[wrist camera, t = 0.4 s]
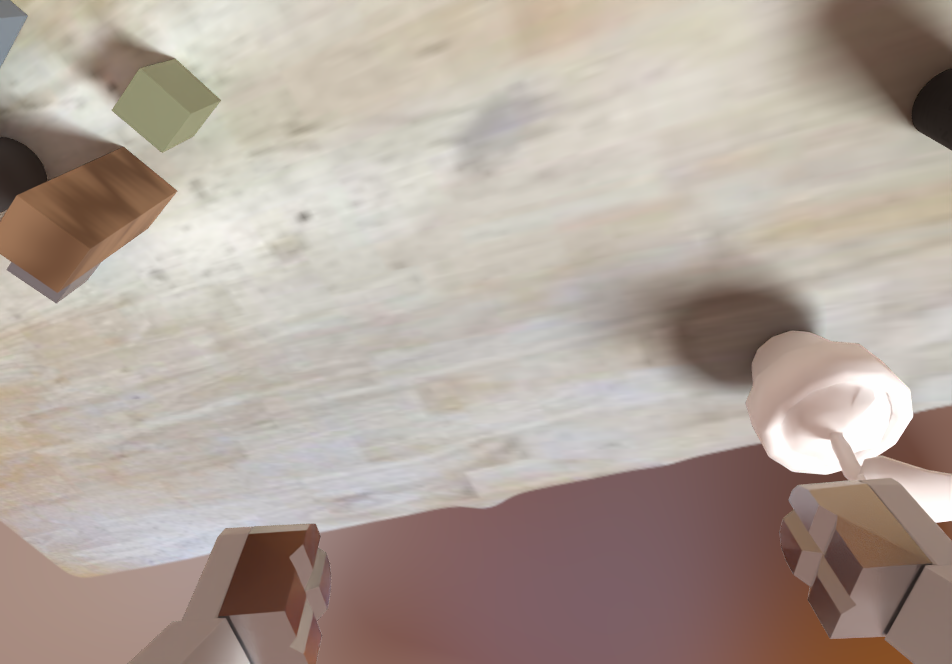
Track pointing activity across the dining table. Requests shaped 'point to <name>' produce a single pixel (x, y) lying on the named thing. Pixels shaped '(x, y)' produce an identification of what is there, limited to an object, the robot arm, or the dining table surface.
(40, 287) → the mauve grey cube
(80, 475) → the dining table surface
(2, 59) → the slate riser
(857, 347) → the potted plant
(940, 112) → the drinking cup
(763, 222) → the dining table surface
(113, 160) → the walnut block
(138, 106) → the olive block
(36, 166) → the charcoal cylinder
